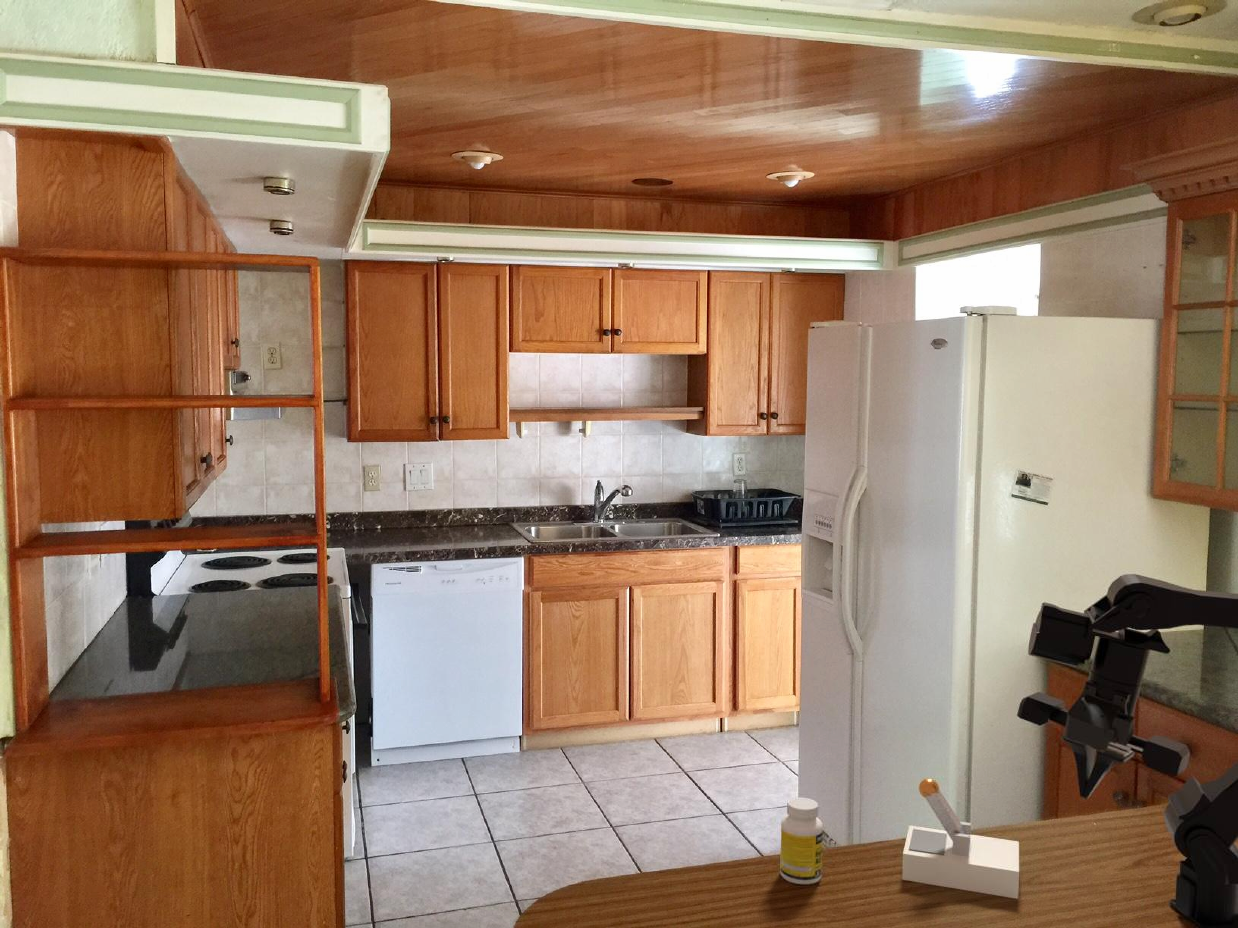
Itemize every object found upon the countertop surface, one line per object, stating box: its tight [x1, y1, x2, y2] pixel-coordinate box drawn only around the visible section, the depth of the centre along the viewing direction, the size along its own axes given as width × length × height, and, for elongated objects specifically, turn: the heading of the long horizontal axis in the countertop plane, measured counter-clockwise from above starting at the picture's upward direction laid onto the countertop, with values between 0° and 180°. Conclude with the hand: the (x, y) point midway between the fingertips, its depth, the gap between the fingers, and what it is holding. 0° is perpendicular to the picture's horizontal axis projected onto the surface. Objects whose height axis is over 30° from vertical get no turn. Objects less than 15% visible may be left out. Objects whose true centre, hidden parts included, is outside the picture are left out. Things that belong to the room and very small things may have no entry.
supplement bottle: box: [779, 797, 824, 885], centre depth 134 cm, size 5×5×10 cm
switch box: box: [902, 821, 1020, 900], centre depth 135 cm, size 14×9×6 cm, turn 69°
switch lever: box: [918, 778, 965, 841], centre depth 135 cm, size 3×3×10 cm
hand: (1084, 796), depth 127 cm, fingers closed
